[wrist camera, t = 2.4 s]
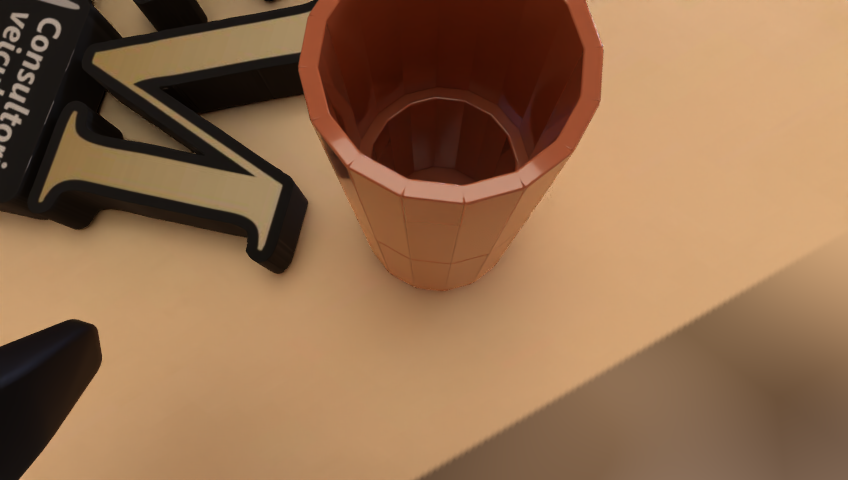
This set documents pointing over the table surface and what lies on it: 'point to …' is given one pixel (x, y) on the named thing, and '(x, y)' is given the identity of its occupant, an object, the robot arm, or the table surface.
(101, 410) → the table surface
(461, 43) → the terracotta tube
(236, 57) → the decorative sign
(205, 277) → the table surface
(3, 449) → the robot arm
